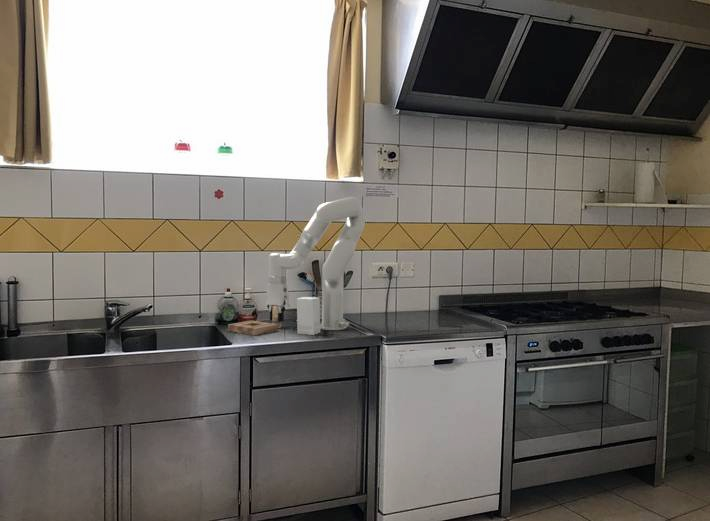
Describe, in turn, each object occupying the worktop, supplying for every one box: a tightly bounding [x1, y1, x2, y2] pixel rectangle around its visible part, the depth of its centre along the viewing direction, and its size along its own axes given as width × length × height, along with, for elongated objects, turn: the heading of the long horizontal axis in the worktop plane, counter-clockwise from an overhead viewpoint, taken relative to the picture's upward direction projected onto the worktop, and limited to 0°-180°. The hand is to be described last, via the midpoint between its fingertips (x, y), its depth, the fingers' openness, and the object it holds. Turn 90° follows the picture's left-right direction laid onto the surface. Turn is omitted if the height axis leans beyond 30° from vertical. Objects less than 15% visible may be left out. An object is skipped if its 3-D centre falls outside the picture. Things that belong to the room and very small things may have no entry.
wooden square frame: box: [227, 320, 279, 336], centre depth 260 cm, size 16×14×3 cm
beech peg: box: [271, 305, 283, 329], centre depth 270 cm, size 4×4×10 cm
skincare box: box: [296, 296, 321, 336], centre depth 256 cm, size 8×7×16 cm
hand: (276, 320), depth 270 cm, fingers closed on beech peg, 4 cm apart
